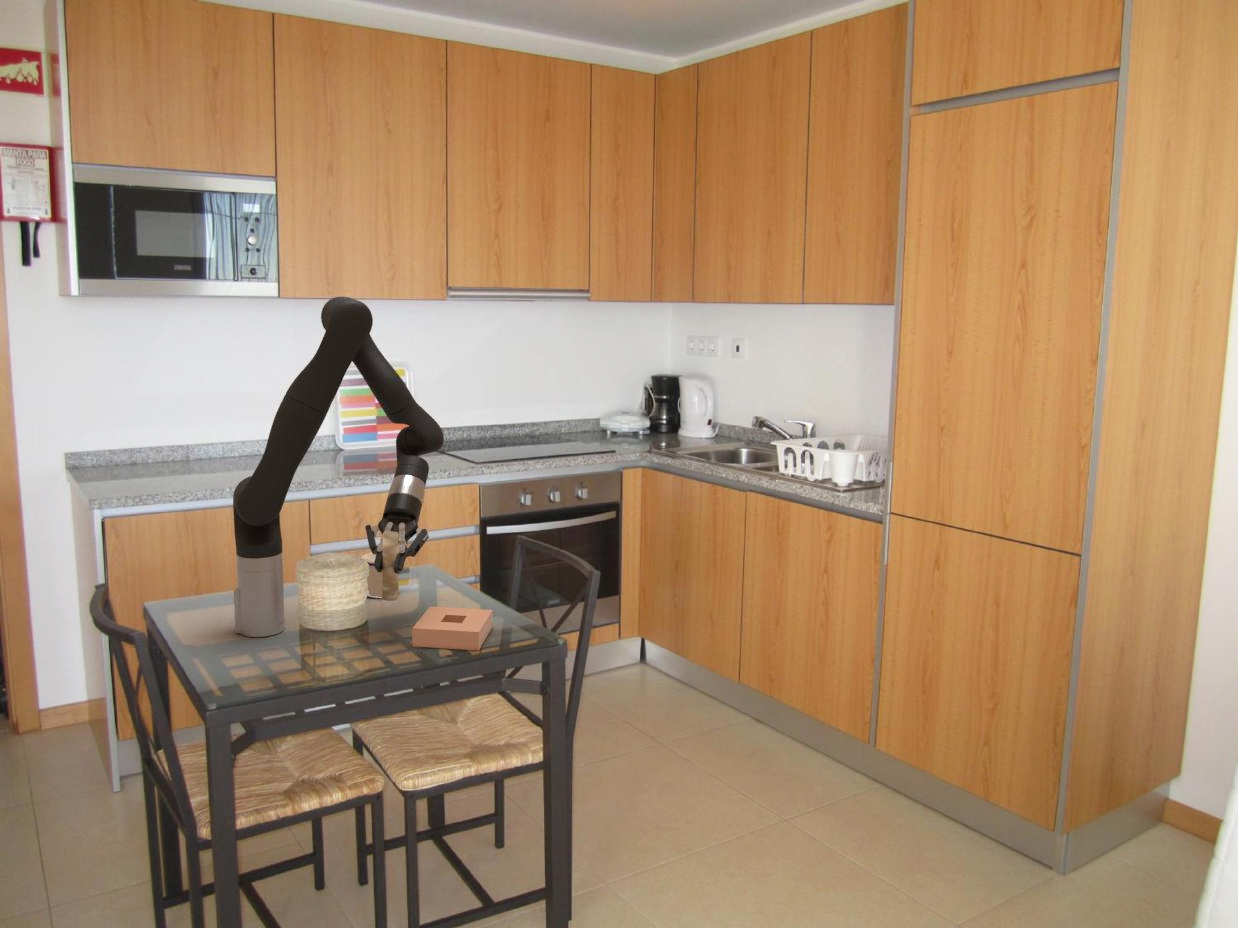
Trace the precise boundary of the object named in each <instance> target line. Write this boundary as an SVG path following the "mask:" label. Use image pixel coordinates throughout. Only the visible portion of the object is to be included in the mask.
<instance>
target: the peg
mask: <svg viewBox="0 0 1238 928" xmlns="http://www.w3.org/2000/svg"><path fill="white" fill-rule="evenodd" d="M398 541H399V533H398V532H394V531H388V532H384V533H383V558H382V598H381V599H382V600H383V601H388V602H390V601H396V600H398V598H399V592H398V574H395V572H394V565H395V561H396V557H397V554H399V544H398Z"/></svg>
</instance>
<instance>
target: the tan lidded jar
mask: <svg viewBox="0 0 1238 928" xmlns="http://www.w3.org/2000/svg"><path fill="white" fill-rule="evenodd" d="M361 558H362V559H364V560H365V561H367V563H368V564H369V570H370V571H369V576H368V580H367V581H368V589H369V594H370V595H371V596H378V597H382V572H377V570H376V569H375V567H374V562H375V558H376V554H373V553H372V552H371V551H370V552H368V553H365V554H363V555H362V556H361ZM361 558H360V559H361ZM399 574H400V573H399ZM399 574H398V593H399V590H400V587H399V586H400V585H399V578H400V577H399Z"/></svg>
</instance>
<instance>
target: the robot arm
mask: <svg viewBox="0 0 1238 928" xmlns="http://www.w3.org/2000/svg"><path fill="white" fill-rule="evenodd" d="M373 319H374V318H373V314H372V311H371V310H370V308H369V306H368V305H366V304H365V303H364V302H362V301H360V300H358V299H355V298H351V297H348V296H335V297H333V298H330V299H329V300H328V301H326V302H325V303H324V305H323V307H322V309H321V314H320V321H321V325H322V327H323V329H324V330H325V332H324V335H323V337H322V339H321V342H320V344H319V346H318V348H317V350H316V351H315V354H314V356H313V357H312V358H311V360H310V361H309V362H308V363H307V365H305V367H304V368H303V369H302V370H301V371H300V373H299V374H298V375H297V376H296V377H295V378H294V379H293V381H292V383H291V384H290V386H289V387H288V389H287V391H286V392H285V394H284V396H283V398H282V401H281V403H280V404H279V406H278V409H277V411H276V413H275V416H274V418H273V421H272V424H271V427H270V431H269V434H268V438H267V441H266V442H267V443H266V446H265V448H264V452H263V455H262V457H261V459H260V461H259V463H258V465H257V466H256V468H255V469H254V472H253V473H252V475H251V476H248V477H247V476H246V477H245V478H243V479H242V480H241V481H240V482H239V483H237V485H236V486H235V489H234V492H233V495H232V497H233V498H232V502H233V503H232V506H233V507H232V509H233V511H232V512H233V528H234V539H235V540H234V541H235V553H236V555H235V556H236V574H237V578H236V579H237V587H236V588H235V589H234V590H233V605H234V630H235V634H240V635H242V636H244V637H250V638H262V637H264V638H265V637H270V636H274V635H277V634H280V633H282V632H284V630H285V628H286V627H285V626H286V625H285V622H286V621H285V620H286V619H285V597H284V596H285V594H284V593H285V589H284V565H283V564H284V562H283V559H284V558H283V538H282V537H283V536H282V530H281V515H280V514H281V511H282V509H283V506H284V503H285V500H286V497H287V494H288V493H289V490H290V488H291V487H290V486H291V483H292V481H293V479H294V477H295V474H296V473H297V470H298V468H299V466H300V464H301V462H302V461H303V459H304V458H305V456H306V454H307V452H308V451H309V449H310V447H311V445H312V443H313V442H314V440H315V437H316V436H317V434H318V432H319V430H320V429H321V427H322V425H323V423H324V421H325V419H326V416H327V414H328V413H329V410H330V408H331V406H332V404H333V401H334V399H335V397H336V395H337V394H338V390H340V389H339V388H340V387H341V384H342V382H343V379H344V377H345V375H346V374H347V371H348V369H349V367H350V365H351V364H352V363H353V364H354V366H355V367H356V369H357V370H358V372H359V373H360V375H361V377H362V379H363V380H364V381H365V384H366V385H367V386H368V388H369V389H370V391H371V393H372V394H373V396H374V398H375V399H376V401H377V402H378V404H379V405H380V407H381V409H382V410H383V412H384V414H385V415H386V417H387V418H388V419H389V421H390V422H391V423H393V424H397V425H398V424H399V425H407V426H405V427H403V428H402V429H401V430H400V431H399V432H398V433H397V436H396V438H395V439H396V440H395V449H396V451H395V452H396V468H395V472H394V477H393V479H392V482H391V484H390V487H389V490H388V494H387V498H386V502H385V506H384V508H383V513H382V518H381V519H380V521H379V522H378V524H376V525H372V526H371V524H367V525H365V527H364V528H365V533H366V537H367V542H368V547H369V550H370V552H372V553H373V554H376V558H375V562H374V567H375V569H376V570H377V572H382V558H383V533H384V532H388V531H394V532H398V533H399V541H398V554H397V557H396V561H395V565H394V572H395V574H400V572H402V571H403V570H404V567H405V562H406V559H407V558H409V557H412V558H413V557H416V556H417V554H418V553H419V551H421V549H422V548H423V546H424V545H425V544H426V542H427V541H428V539H429V538H430V535H429V532H428V530H427V529H426V528H420V527H419V524H418V523H419V519H420V515H421V510H422V508H423V505H424V499H425V493H426V491H425V489H426V485H427V481H428V477H429V473H430V472H429V470H430V467H429V462H428V461H427V460H426V459H425V458H423V457H421V456H423V455H427V454H431V453H432V454H433V453H435V452H437V451H439V450H441V448H442V447H443V445H444V440H445V439H444V438H445V437H444V432H443V429H442V427H441V426H440V425H439V423H438V422H437V421H436V420H435V418H433V417H432V415H430V414H429V413H428V412H427V411H426V410H425V409H424V408H423V407H422V406H421V405H419V403H417V401H416V400H415V398H414V396H413V395H412V393H411V392H410V389H408V386H407V385H406V383H405V381H404V380H403V379H402V378H401V376H400V375H399V373H398V372H397V371H396V370H395V368H394V367H393V366H392V365H391V363H389V361H388V360H387V359H386V357H385V356H384V355H383V354H382V352H381V350H380V349H379V347H378V345H376V343H375V341H374V340H373V338H372V336H371V331H372V328H373V324H374V322H373ZM379 531H380V533H381V535H382V536H381V537H380V542H379V544H378V545H377V543H376V538H375V537H377V536H378V532H379ZM414 536H416V537H415V538H414V540H413V541H412V542H411V543H410V545H409V540H411V539H412V538H413V537H414Z"/></svg>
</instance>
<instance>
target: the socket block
mask: <svg viewBox="0 0 1238 928" xmlns="http://www.w3.org/2000/svg"><path fill="white" fill-rule="evenodd" d="M493 613H494V610H493V609H481V608H480V609H479V608H466V607H465V608H461V607H448V606H446V607H445V606H429V607H428V609H427V610H426V611H425V612H424V613H423V615H422V616H421V617H420V618H419V619H418V621H417V622H416V623H415V625H414V626H413V627H412V628H411V629H412V631H411V632H412V636H411V637H412V647H414V648H415V647H417V648H432V649H434V648H435V649H448V650H449V649H450V650H451V649H452V650H464V651H465V650H468V651H480V649H481V647H482V646H483V644H484V643H485V640H486V639H487V638H488V636H489V634H490V633H491V631H492V629H493V623H494V622H493V618H494V617H493V615H494V614H493Z"/></svg>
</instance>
